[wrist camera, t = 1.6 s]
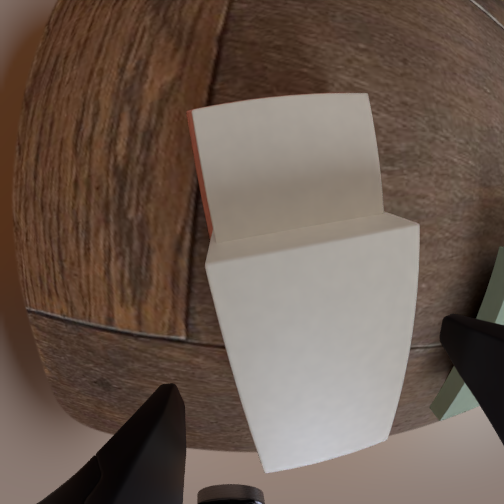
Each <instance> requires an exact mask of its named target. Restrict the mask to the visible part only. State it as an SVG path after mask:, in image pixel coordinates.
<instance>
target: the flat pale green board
mask: <svg viewBox="0 0 504 504" xmlns="http://www.w3.org/2000/svg"><path fill="white" fill-rule="evenodd" d="M476 319H479V320H484V321H488V322H492V323H497V324H501V325H504V247H501V246H500V247H499V250H498V254H497V258H496V261H495V265H494V268H493V272H492V275H491V278H490V281H489V284H488V287H487V290H486V293H485V296H484V299H483V302H482V304H481V307H480V310H479V312H478V315H477V317H476ZM478 406H480V405H479V403H478V402H477V400H476V399H475V397H474V396H473V394H472V393H471V391H470V390H469V388H468V387H467V385H466V384H465V382H464V381H463V379H462V378H461V376H460V375H459V373H458V372H457V370H456V368H455V366H453V368H452V370H451V372H450V374H449V376H448V377H447V379H446V381H445V383H444V384H443V386H442V388H441V390H440V391H439V393H438V395H437V396H436V398H435V399H434V401H433V403H432V404H431V406H430V409H431V410H432V411H433V413H434V414H435V415H436V417H437V418H438V419H439V421H441V420H444V419H447V418H450V417H453V416H455V415H458V414H461V413H463V412H466V411H468V410H471V409H473V408H475V407H478Z"/></svg>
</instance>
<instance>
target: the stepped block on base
mask: <svg viewBox="0 0 504 504" xmlns="http://www.w3.org/2000/svg"><path fill="white" fill-rule="evenodd" d="M186 114H187V120H188V126H189V132H190V138H191V144H192V149H193V155H194V161H195V166H196V171H197V177H198V182H199V187H200V192H201V198H202V203H203V208H204V213H205V218H206V223H207V227H208V232H209V237H210V244H209V249H208V253H207V258H206V262H205V269H206V273H207V277H208V282H209V286H210V290H211V294H212V298H213V302H214V306H215V310H216V314H217V318H218V321H219V325H220V329H221V333H222V337H223V340H224V344H225V348H226V351H227V355H228V358H229V362H230V366H231V369H232V373H233V376H234V379H235V383H236V386H237V390H238V393H239V396H240V400H241V403H242V406H243V409H244V413H245V416H246V419H247V422H248V425H249V428H250V432H251V435H252V438H253V441H254V444H255V447H256V450H257V453H258V456H259V458H260V461H261V464H262V467H263V470H264V473H271V472H277V471H282V470H288V469H293V468H297V467H302V466H306V465H310V464H315V463H319V462H322V461H326V460H330V459H333V458H336V457H340V456H343V455H346V454H349V453H353V452H356V451H359V450H361V449H364V448H367V447H370V446H372V445H375V444H378V443H381V442H383V441H386V440H387V439H388V436H389V433H390V430H391V427H392V423H393V420H394V416H395V413H396V409H397V406H398V402H399V398H400V394H401V390H402V385H403V381H404V376H405V372H406V367H407V362H408V356H409V351H410V345H411V338H412V332H413V324H414V317H415V308H416V298H417V286H418V271H419V237H420V230H419V224H418V223H416V222H413V221H410V220H407V219H404V218H401V217H399V216H396V215H393V214H390V213H387V212H384V208H383V194H382V183H381V173H380V165H379V157H378V149H377V142H376V136H375V129H374V123H373V118H372V112H371V107H370V102H369V97H368V94H366V93H313V94H296V95H284V96H274V97H264V98H256V99H249V100H242V101H235V102H229V103H223V104H217V105H212V106H207V107H202V108H197V109H192V110H188V111H187V113H186Z"/></svg>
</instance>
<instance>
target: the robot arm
mask: <svg viewBox="0 0 504 504" xmlns="http://www.w3.org/2000/svg"><path fill="white" fill-rule="evenodd" d="M440 342H441V344H442V346H443V347H444V349H445V351H446V352H447V354H448V356H449V358H450V359H451V361H452V363H453V365H454V366H455V368H456V370H457V372H458V373H459V375H460V376H461V378H462V379H463V381H464V382H465V384H466V385H467V387H468V388H469V390H470V391H471V393H472V394H473V396H474V397H475V399H476V400H477V402H478V403H479V405H480V406H481V408H482V410H483V411H484V413H485V414H486V416H487V417H488V419H489V421H490V422H491V424H492V426H493V428H494V429H495V431H496V433H497V434H498V436H499V438H500V440H501V441H502V443H503V445H504V325H501V324H497V323H492V322H488V321H484V320H479V319H475V318H471V317H467V316H462V315H458V314H450V315H448V316H445V317H444V319H443V321H442V327H441V332H440ZM185 459H186V427H185V405H184V401H183V399H182V397H181V395H180V393H179V390H178V388H177V386H176V385H175V384H173V383H170V384H162V385H161V386H160V387H159V388H158V389H157V390H156V391H155V392H154V393H153V394H152V395H151V396H150V397H149V398H148V400H147V401H146V402H145V403H144V404H143V405H142V406H141V407H140V408H139V409H138V410H137V411H136V412H135V413H134V414H133V416H132V417H131V418H130V419H129V420H128V421H127V422H126V423H125V424H124V425H123V426H122V427H121V428H120V429H119V430H118V431H117V432H116V433H115V435H114V436H113V437H112V438H111V439H110V440H109V441H108V442H107V443H106V444H105V445H104V446H103V447H102V448H101V449H100V450H99V451H98V452H97V453H96V456H93V457H92V458H91V459H90V461H88V462H87V463H86V464H85V465H84V466H83V467H82V468H81V469H80V470H79V471H78V472H77V473H76V474H75V475H73V476H72V477H71V478H70V479H69V480H67V481H66V482H65V483H64V484H63V485H61V486H60V487H59V488H58V489H56V490H55V491H54V492H52V493H51V494H50V495H48V496H47V497H46V498H44V499H43V500H42V501H40V502H39V503H37V504H182V503H183V487H184V474H185ZM198 504H256V502H255V500H241V501H228V502H207V503H198Z"/></svg>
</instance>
